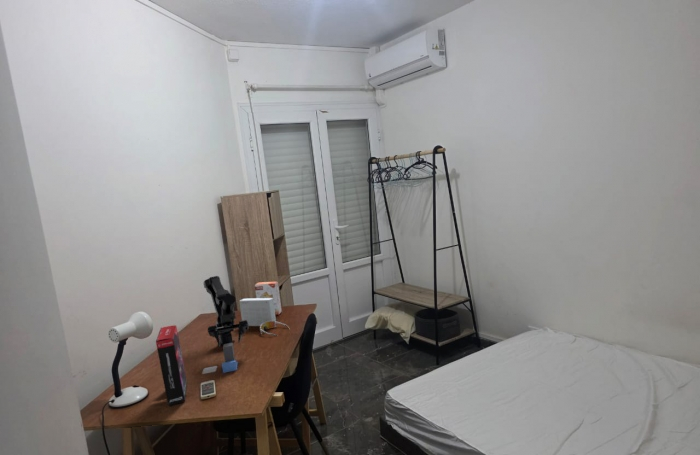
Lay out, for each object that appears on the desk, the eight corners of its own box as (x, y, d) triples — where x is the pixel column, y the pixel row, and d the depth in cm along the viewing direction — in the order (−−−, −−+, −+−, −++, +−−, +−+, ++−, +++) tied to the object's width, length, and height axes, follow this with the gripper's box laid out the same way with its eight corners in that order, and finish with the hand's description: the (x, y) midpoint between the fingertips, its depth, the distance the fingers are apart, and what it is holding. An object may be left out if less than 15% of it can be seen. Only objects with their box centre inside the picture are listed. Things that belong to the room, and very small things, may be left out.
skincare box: (277, 323, 243) (273, 297, 241) (272, 326, 238) (268, 300, 236) (247, 322, 250) (243, 298, 248) (242, 326, 245) (238, 300, 243)
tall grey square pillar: (226, 368, 185) (222, 347, 183) (226, 364, 188) (223, 344, 187) (235, 366, 185) (231, 345, 184) (235, 363, 189) (232, 342, 188)
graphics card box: (185, 402, 159) (174, 336, 156) (166, 407, 157) (155, 340, 154) (187, 384, 175) (177, 323, 172) (170, 388, 173) (159, 327, 170)
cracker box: (258, 316, 261) (254, 284, 258) (262, 313, 267) (257, 282, 264) (279, 314, 258) (274, 283, 256) (282, 311, 264) (277, 280, 262)
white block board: (195, 380, 178) (194, 370, 177) (200, 368, 190) (198, 358, 190) (242, 371, 182) (240, 361, 181) (243, 359, 194) (241, 350, 194)
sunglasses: (272, 325, 239) (272, 318, 238) (292, 331, 232) (292, 323, 231) (255, 335, 227) (255, 326, 226) (276, 341, 220) (276, 332, 219)
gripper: (205, 310, 194) (205, 340, 184) (244, 304, 198) (247, 333, 188) (209, 321, 202) (210, 350, 193) (247, 314, 206) (250, 343, 197)
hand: (229, 344), depth 193 cm, fingers open, 9 cm apart
